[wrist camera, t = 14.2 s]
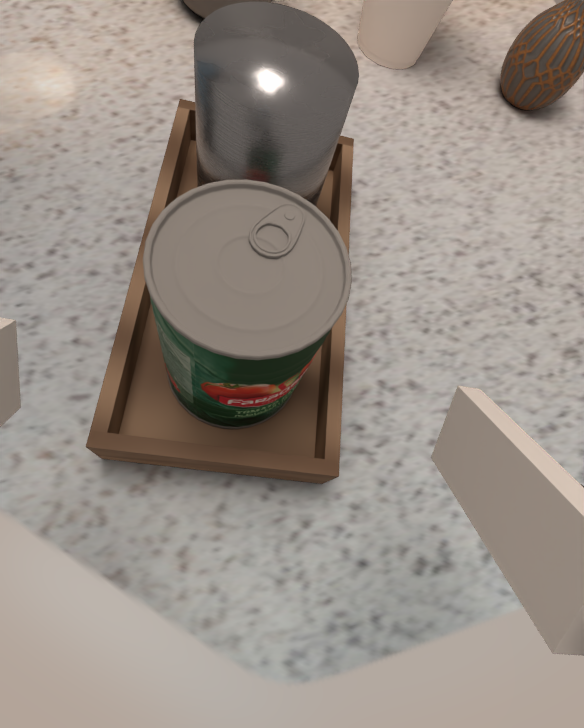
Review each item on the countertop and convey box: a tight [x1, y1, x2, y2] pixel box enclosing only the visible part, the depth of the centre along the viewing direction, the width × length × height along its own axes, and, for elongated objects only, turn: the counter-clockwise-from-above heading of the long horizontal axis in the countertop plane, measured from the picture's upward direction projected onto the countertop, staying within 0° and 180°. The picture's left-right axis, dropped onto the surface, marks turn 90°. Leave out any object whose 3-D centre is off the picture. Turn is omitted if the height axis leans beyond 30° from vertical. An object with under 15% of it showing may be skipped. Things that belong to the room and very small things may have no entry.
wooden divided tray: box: [86, 99, 354, 484], centre depth 28 cm, size 24×13×4 cm, turn 175°
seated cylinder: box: [194, 2, 359, 206], centre depth 26 cm, size 8×8×11 cm
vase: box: [501, 0, 584, 110], centre depth 40 cm, size 7×7×9 cm
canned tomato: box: [143, 180, 352, 429], centre depth 21 cm, size 8×8×11 cm
